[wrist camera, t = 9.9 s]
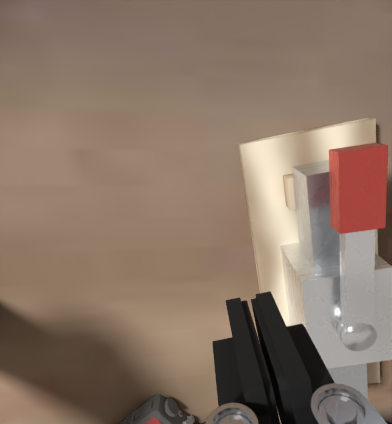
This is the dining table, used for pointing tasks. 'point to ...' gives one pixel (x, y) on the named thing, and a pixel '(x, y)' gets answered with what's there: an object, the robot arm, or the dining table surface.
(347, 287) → the lever
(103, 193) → the dining table surface
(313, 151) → the valve board
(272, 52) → the dining table surface
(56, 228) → the dining table surface
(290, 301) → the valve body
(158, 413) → the walkie-talkie
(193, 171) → the dining table surface
